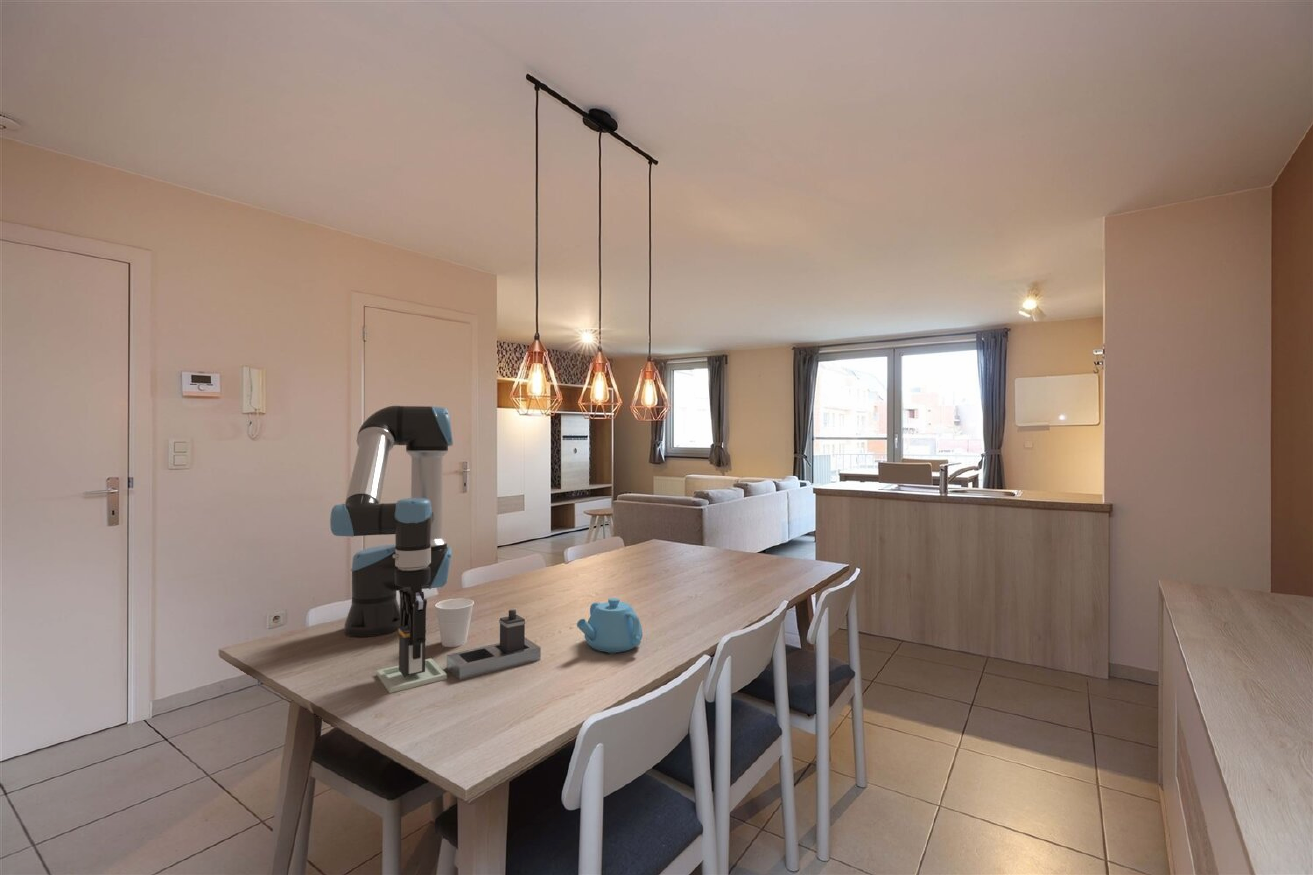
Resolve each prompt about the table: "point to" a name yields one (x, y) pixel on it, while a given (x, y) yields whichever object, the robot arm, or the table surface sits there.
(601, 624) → the teapot
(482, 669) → the strip
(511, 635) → the twin plug
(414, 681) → the tray
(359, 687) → the table surface
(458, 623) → the cup
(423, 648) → the plug
